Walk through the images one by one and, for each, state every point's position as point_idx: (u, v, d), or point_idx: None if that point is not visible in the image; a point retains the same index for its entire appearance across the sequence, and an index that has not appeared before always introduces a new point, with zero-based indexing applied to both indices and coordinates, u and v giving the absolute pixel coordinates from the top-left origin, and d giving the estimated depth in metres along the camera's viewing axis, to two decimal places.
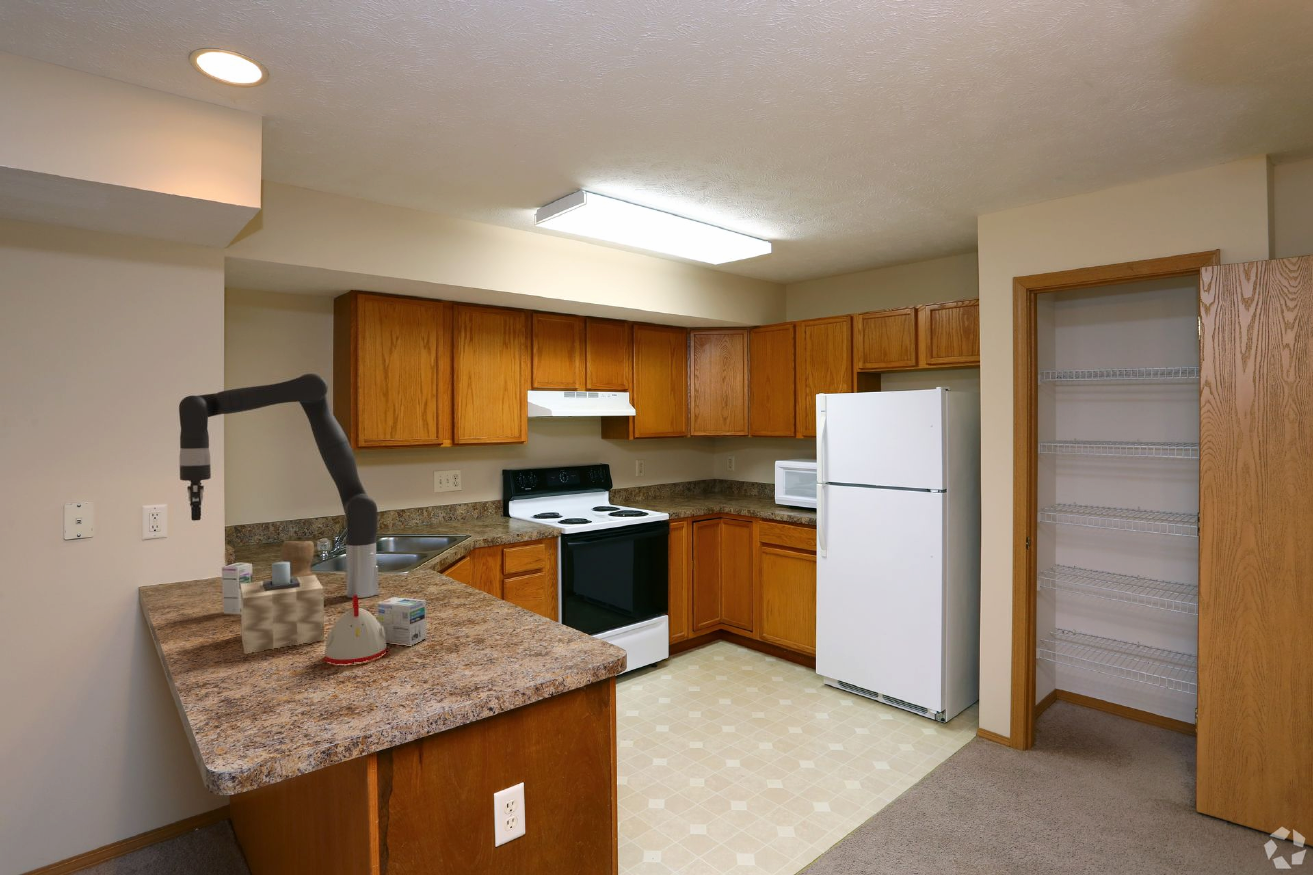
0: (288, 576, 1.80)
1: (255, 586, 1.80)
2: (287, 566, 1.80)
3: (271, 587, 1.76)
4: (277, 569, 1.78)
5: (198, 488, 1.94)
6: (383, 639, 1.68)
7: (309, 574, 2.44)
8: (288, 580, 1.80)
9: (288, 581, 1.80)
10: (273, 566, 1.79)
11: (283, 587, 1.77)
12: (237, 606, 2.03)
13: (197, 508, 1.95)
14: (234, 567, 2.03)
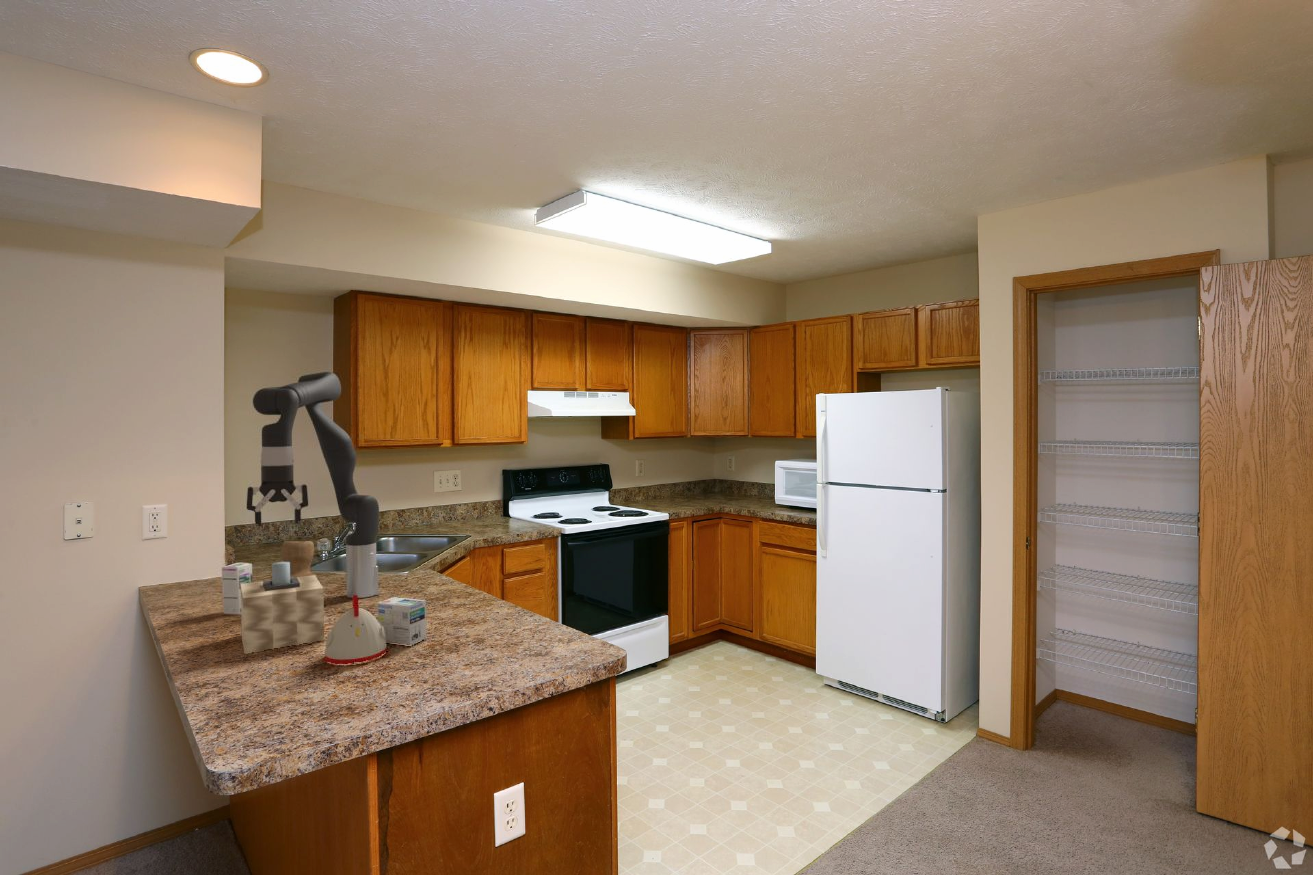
0: (288, 576, 1.80)
1: (255, 586, 1.80)
2: (287, 566, 1.80)
3: (271, 587, 1.76)
4: (277, 569, 1.78)
5: None
6: (383, 639, 1.68)
7: (309, 574, 2.44)
8: (288, 580, 1.80)
9: (288, 581, 1.80)
10: (273, 566, 1.79)
11: (283, 587, 1.77)
12: (237, 606, 2.03)
13: None
14: (234, 567, 2.03)
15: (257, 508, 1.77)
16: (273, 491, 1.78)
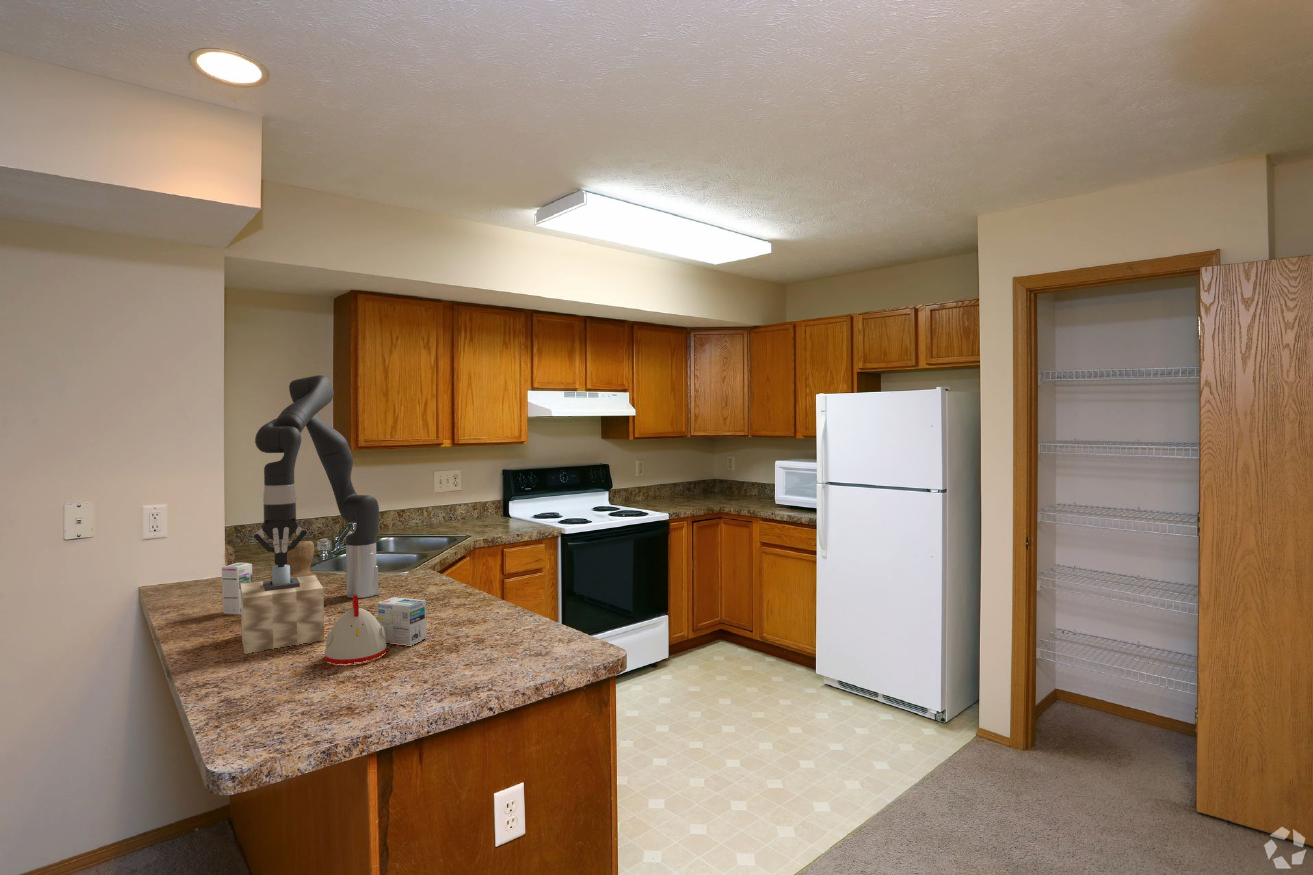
0: (288, 579, 1.80)
1: (255, 586, 1.80)
2: (287, 569, 1.80)
3: (271, 587, 1.76)
4: (277, 572, 1.78)
5: None
6: (383, 639, 1.68)
7: (309, 574, 2.44)
8: None
9: None
10: (273, 569, 1.79)
11: (283, 587, 1.77)
12: (237, 606, 2.03)
13: (286, 552, 1.82)
14: (234, 567, 2.03)
15: (276, 550, 1.79)
16: (275, 529, 1.78)
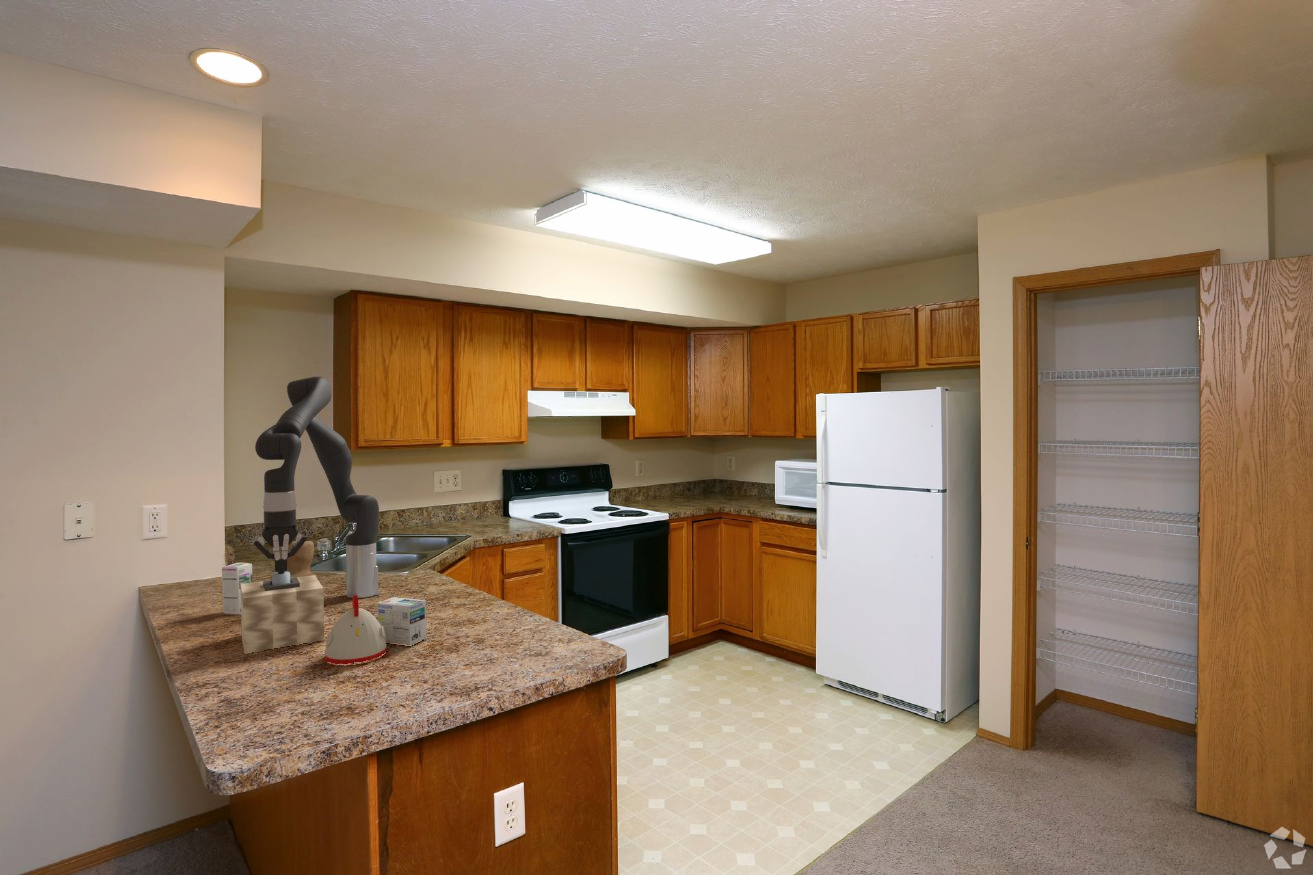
0: None
1: (255, 586, 1.80)
2: (287, 576, 1.80)
3: (271, 587, 1.76)
4: (277, 579, 1.78)
5: None
6: (383, 639, 1.68)
7: (309, 574, 2.44)
8: None
9: None
10: (273, 576, 1.79)
11: (283, 587, 1.77)
12: (237, 606, 2.03)
13: (286, 559, 1.82)
14: (234, 567, 2.03)
15: (276, 557, 1.79)
16: (275, 536, 1.78)
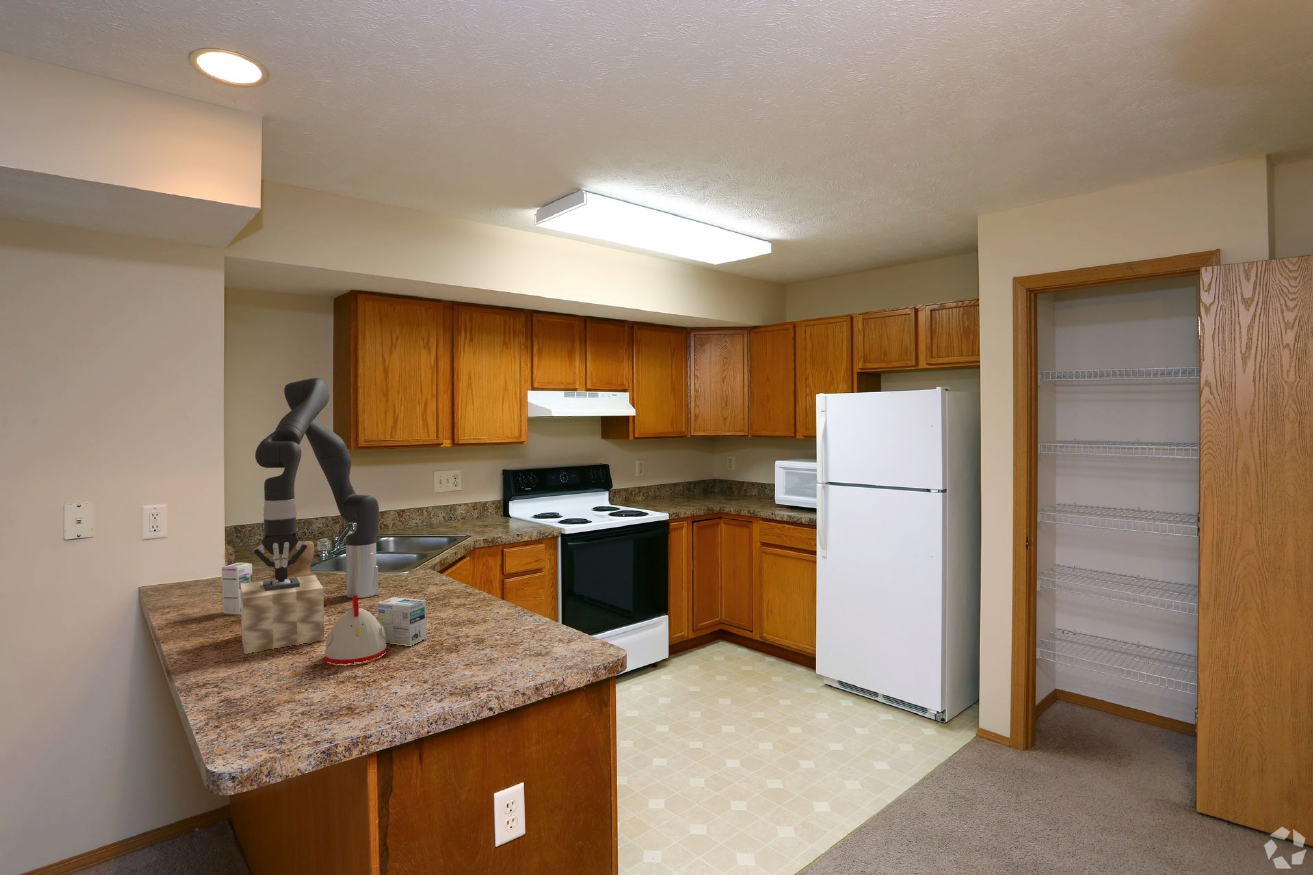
0: None
1: (255, 586, 1.80)
2: None
3: (271, 587, 1.76)
4: None
5: None
6: (383, 639, 1.68)
7: (309, 574, 2.44)
8: None
9: None
10: (273, 584, 1.79)
11: (283, 587, 1.77)
12: (237, 606, 2.03)
13: (286, 567, 1.82)
14: (234, 567, 2.03)
15: (276, 565, 1.79)
16: (276, 544, 1.78)
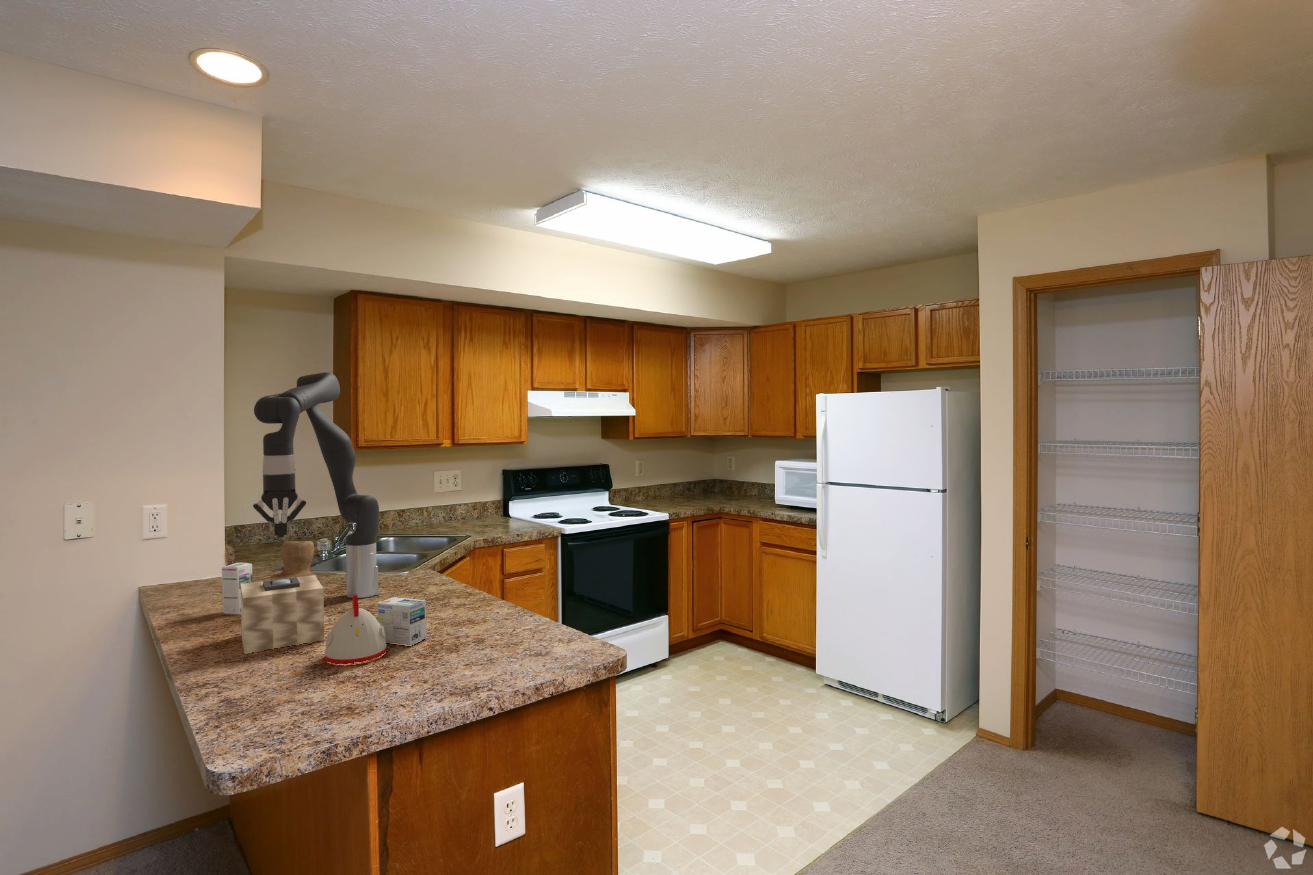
0: None
1: (255, 586, 1.80)
2: None
3: (271, 587, 1.76)
4: None
5: None
6: (383, 639, 1.68)
7: (309, 574, 2.44)
8: None
9: None
10: (273, 584, 1.79)
11: (283, 587, 1.77)
12: (237, 606, 2.03)
13: None
14: (234, 567, 2.03)
15: (276, 520, 1.79)
16: (275, 499, 1.78)
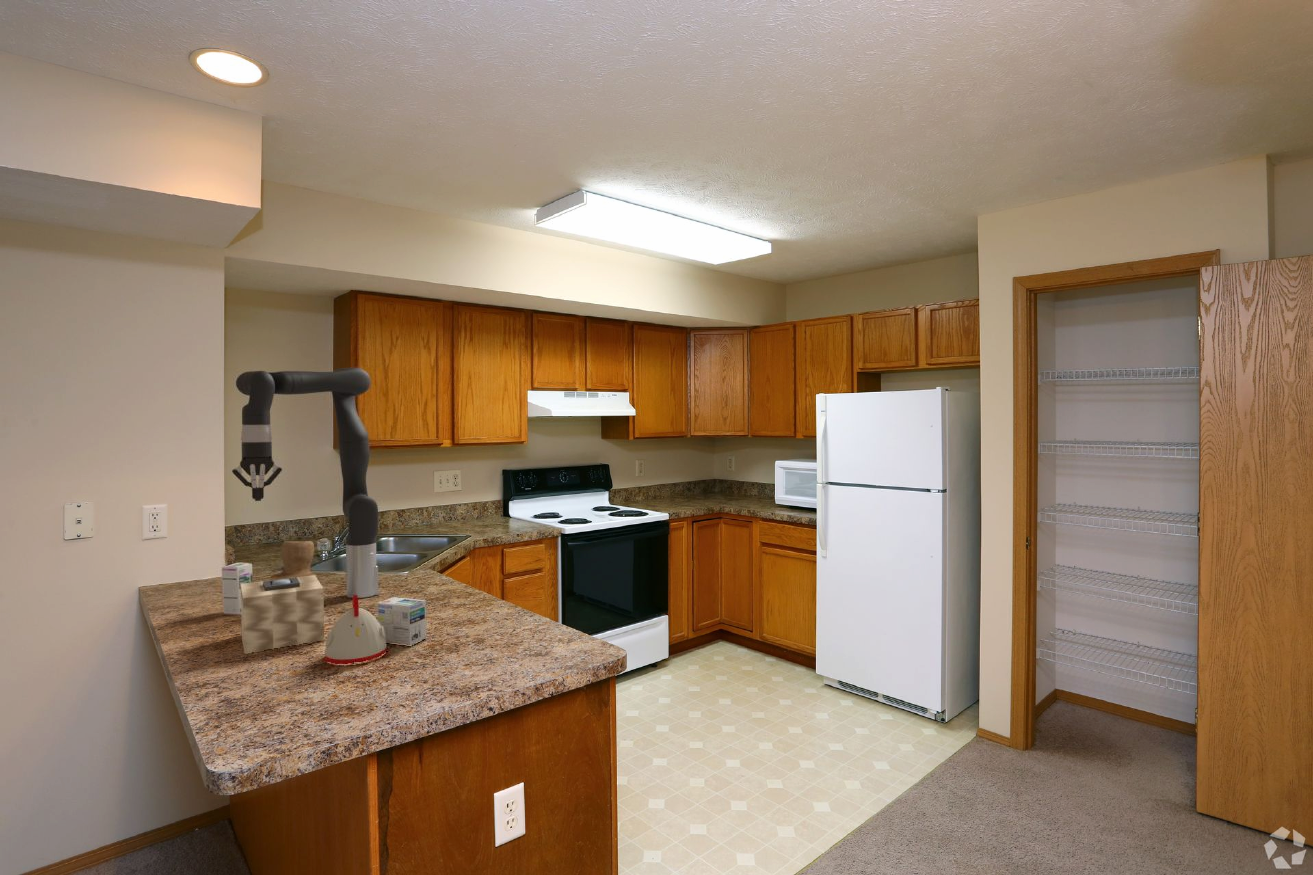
0: None
1: (255, 586, 1.80)
2: None
3: (271, 587, 1.76)
4: None
5: None
6: (383, 639, 1.68)
7: (309, 574, 2.44)
8: None
9: None
10: (273, 584, 1.79)
11: (283, 587, 1.77)
12: (237, 606, 2.03)
13: None
14: (234, 567, 2.03)
15: (253, 485, 1.94)
16: (252, 465, 1.93)
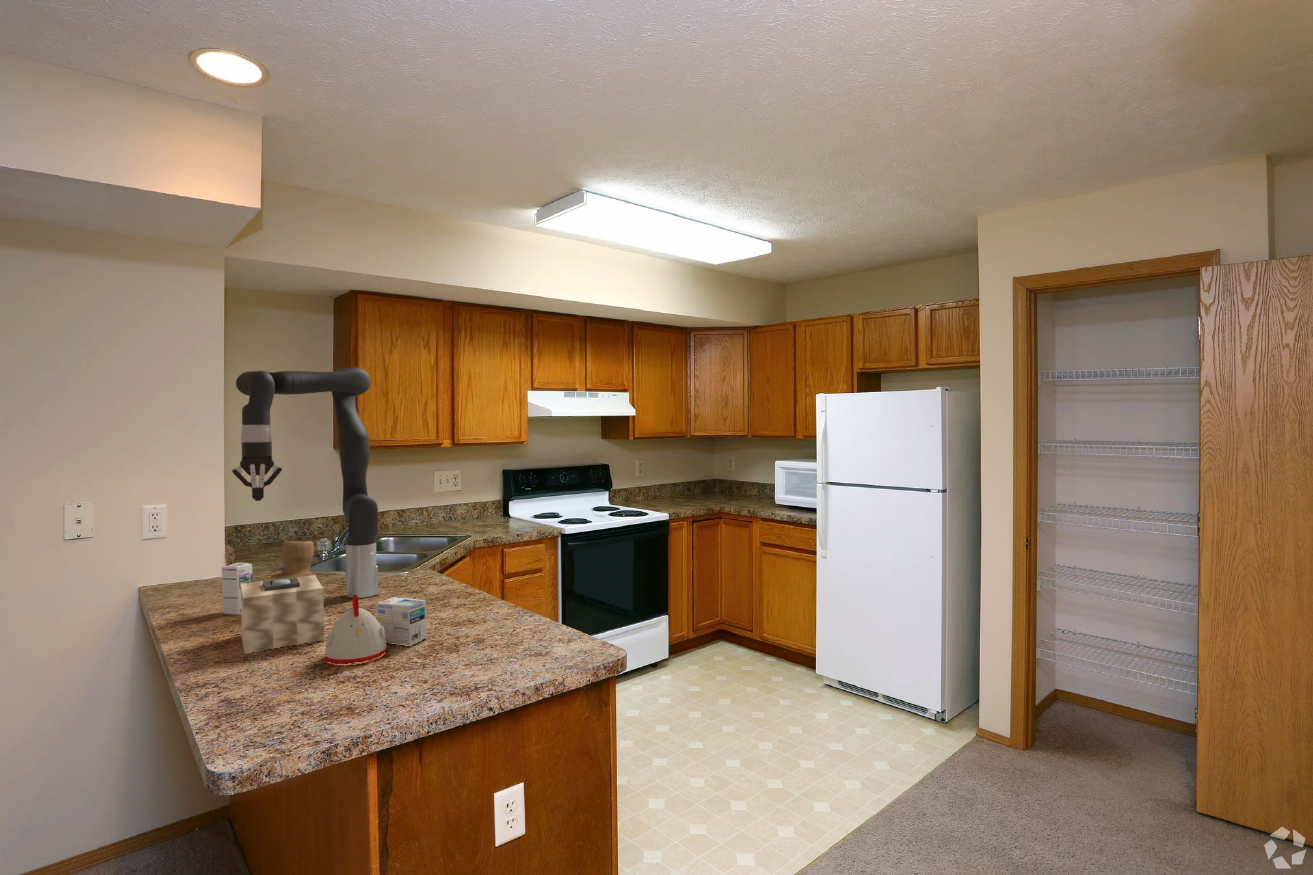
0: None
1: (255, 586, 1.80)
2: None
3: (271, 587, 1.76)
4: None
5: None
6: (383, 639, 1.68)
7: (309, 574, 2.44)
8: None
9: None
10: (273, 584, 1.79)
11: (283, 587, 1.77)
12: (237, 606, 2.03)
13: None
14: (234, 567, 2.03)
15: (253, 485, 1.94)
16: (252, 465, 1.93)
